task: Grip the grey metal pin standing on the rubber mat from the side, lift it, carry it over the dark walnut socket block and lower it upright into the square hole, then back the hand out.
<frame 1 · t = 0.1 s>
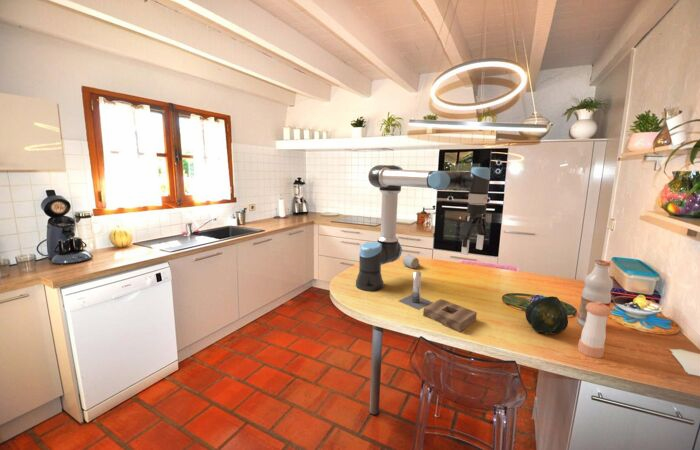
hand: (472, 251, 134), 28 cm above the counter, tool pointing down, fingers open, 13 cm apart
fruit juice: (590, 325, 128), on the counter
socket block: (449, 318, 131), on the counter
squash: (544, 329, 124), on the counter
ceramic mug: (411, 266, 199), on the counter
pepper shaker: (590, 352, 109), on the counter
pudding: (539, 307, 144), on the counter
rubber mat: (415, 302, 146), on the counter
metal pin: (415, 301, 146), resting on rubber mat
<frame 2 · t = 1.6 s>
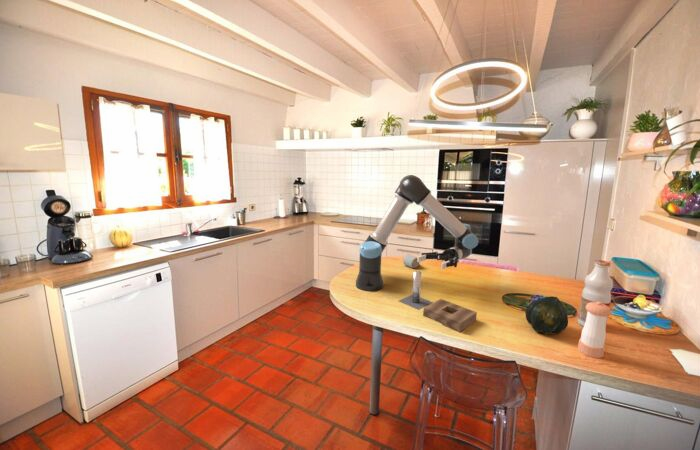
hand: (429, 262, 149), 18 cm above the counter, tool horizontal, fingers open, 13 cm apart
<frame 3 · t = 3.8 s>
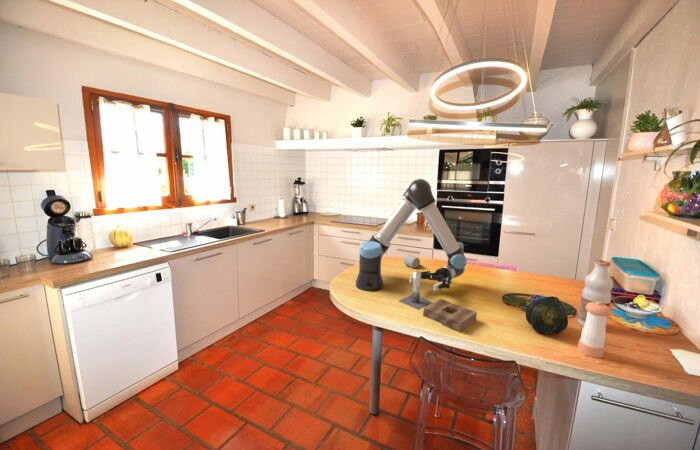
hand: (421, 284, 146), 9 cm above the counter, tool horizontal, fingers open, 13 cm apart
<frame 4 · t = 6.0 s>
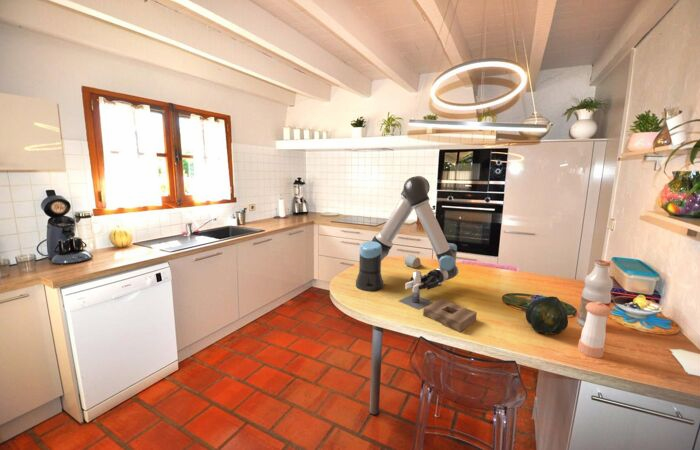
hand: (409, 287, 141), 9 cm above the counter, tool horizontal, fingers closed on metal pin, 4 cm apart
metal pin: (415, 301, 146), resting on rubber mat, touching gripper
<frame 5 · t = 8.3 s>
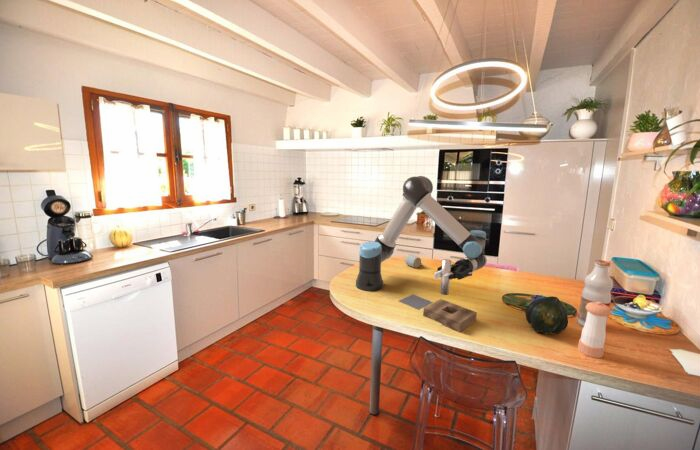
hand: (439, 277, 128), 19 cm above the counter, tool horizontal, fingers closed on metal pin, 4 cm apart
metal pin: (444, 293, 133), point 10 cm above the counter, touching gripper
when the fingers open (10 cm above the counter, at t = 10.9 s): metal pin drops 1 cm, resting in socket block.
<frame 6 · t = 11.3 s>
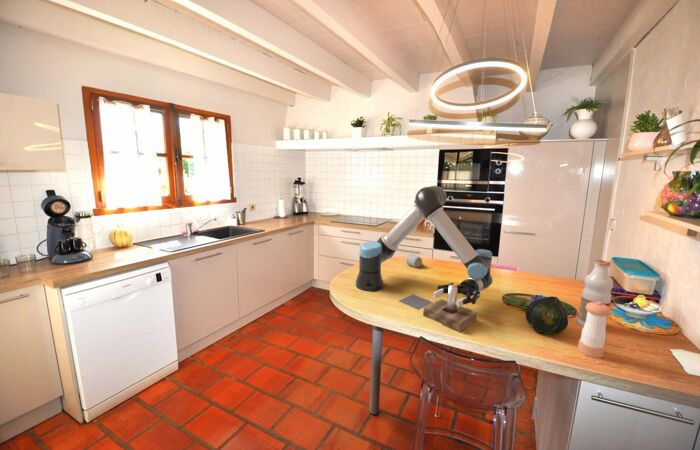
hand: (445, 299, 126), 10 cm above the counter, tool horizontal, fingers open, 10 cm apart
metal pin: (449, 318, 131), resting in socket block
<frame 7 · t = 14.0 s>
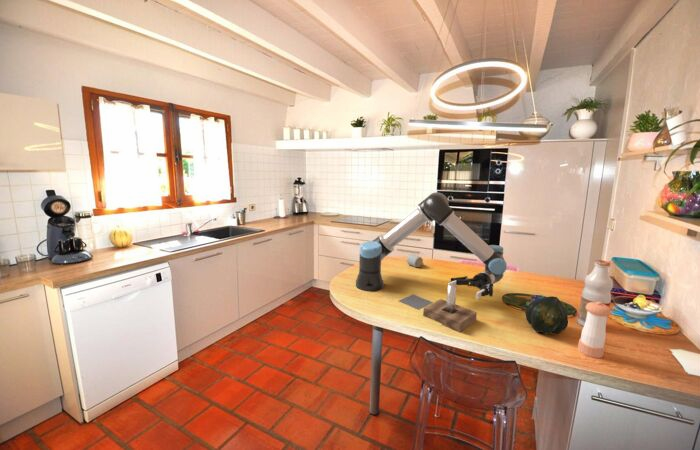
hand: (462, 291, 135), 10 cm above the counter, tool horizontal, fingers open, 13 cm apart
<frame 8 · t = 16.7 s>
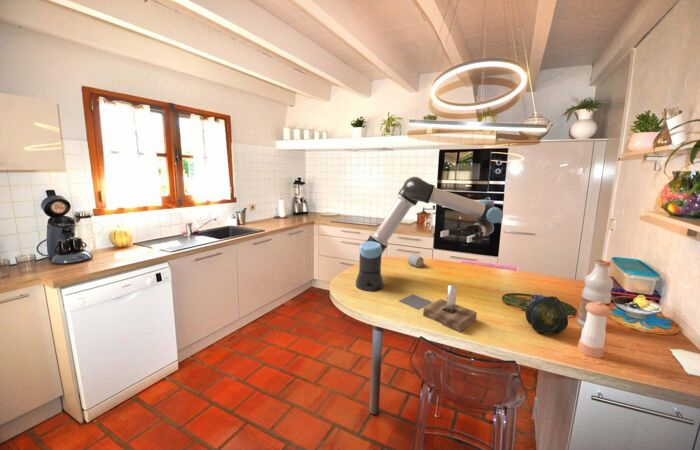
hand: (453, 236, 143), 32 cm above the counter, tool horizontal, fingers open, 13 cm apart
at the end: metal pin 0.1 cm off-centre on the socket block, point 0.0 cm above the socket block's base; metal pin tilted 0°; the gripper is holding nothing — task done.
